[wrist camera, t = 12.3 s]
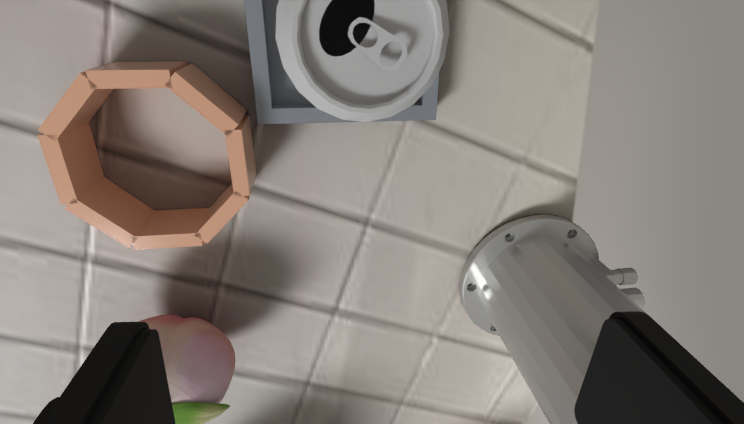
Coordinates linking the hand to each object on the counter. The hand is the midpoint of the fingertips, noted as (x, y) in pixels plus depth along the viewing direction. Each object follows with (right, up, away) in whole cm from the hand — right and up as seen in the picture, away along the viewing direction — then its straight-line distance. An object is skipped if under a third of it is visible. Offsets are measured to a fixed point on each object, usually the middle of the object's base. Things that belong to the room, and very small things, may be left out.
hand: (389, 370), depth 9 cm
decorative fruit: (-16, -7, +28) cm, 33 cm away
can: (-2, +15, +19) cm, 24 cm away
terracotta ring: (-15, +8, +21) cm, 27 cm away
